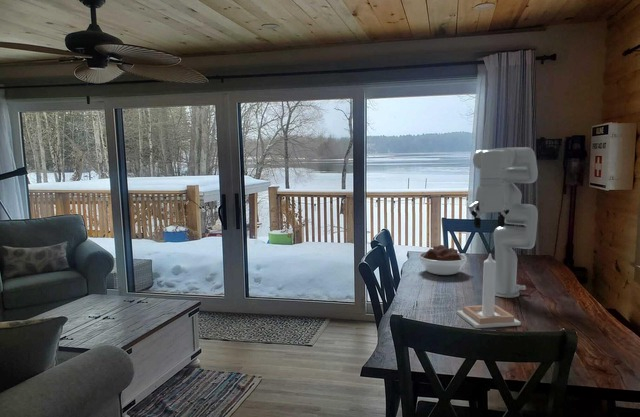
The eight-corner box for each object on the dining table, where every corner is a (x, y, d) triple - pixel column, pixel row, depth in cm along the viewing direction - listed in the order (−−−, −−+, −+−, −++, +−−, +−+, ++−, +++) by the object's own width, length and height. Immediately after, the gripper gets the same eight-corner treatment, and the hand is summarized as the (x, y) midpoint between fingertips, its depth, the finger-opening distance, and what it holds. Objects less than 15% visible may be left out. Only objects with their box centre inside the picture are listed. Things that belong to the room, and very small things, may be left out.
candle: (493, 312, 180) (495, 251, 177) (500, 318, 173) (503, 255, 170) (475, 312, 180) (477, 251, 177) (482, 319, 173) (484, 255, 170)
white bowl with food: (476, 276, 239) (477, 248, 237) (436, 281, 229) (437, 252, 228) (446, 265, 262) (447, 240, 260) (409, 270, 253) (410, 243, 251)
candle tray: (497, 310, 186) (498, 303, 185) (520, 325, 170) (520, 317, 170) (456, 313, 183) (456, 305, 183) (475, 328, 168) (476, 319, 167)
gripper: (506, 181, 177) (504, 224, 179) (464, 182, 174) (463, 226, 177) (517, 183, 170) (515, 228, 172) (474, 184, 167) (472, 229, 169)
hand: (489, 227), depth 174 cm, fingers open, 9 cm apart
